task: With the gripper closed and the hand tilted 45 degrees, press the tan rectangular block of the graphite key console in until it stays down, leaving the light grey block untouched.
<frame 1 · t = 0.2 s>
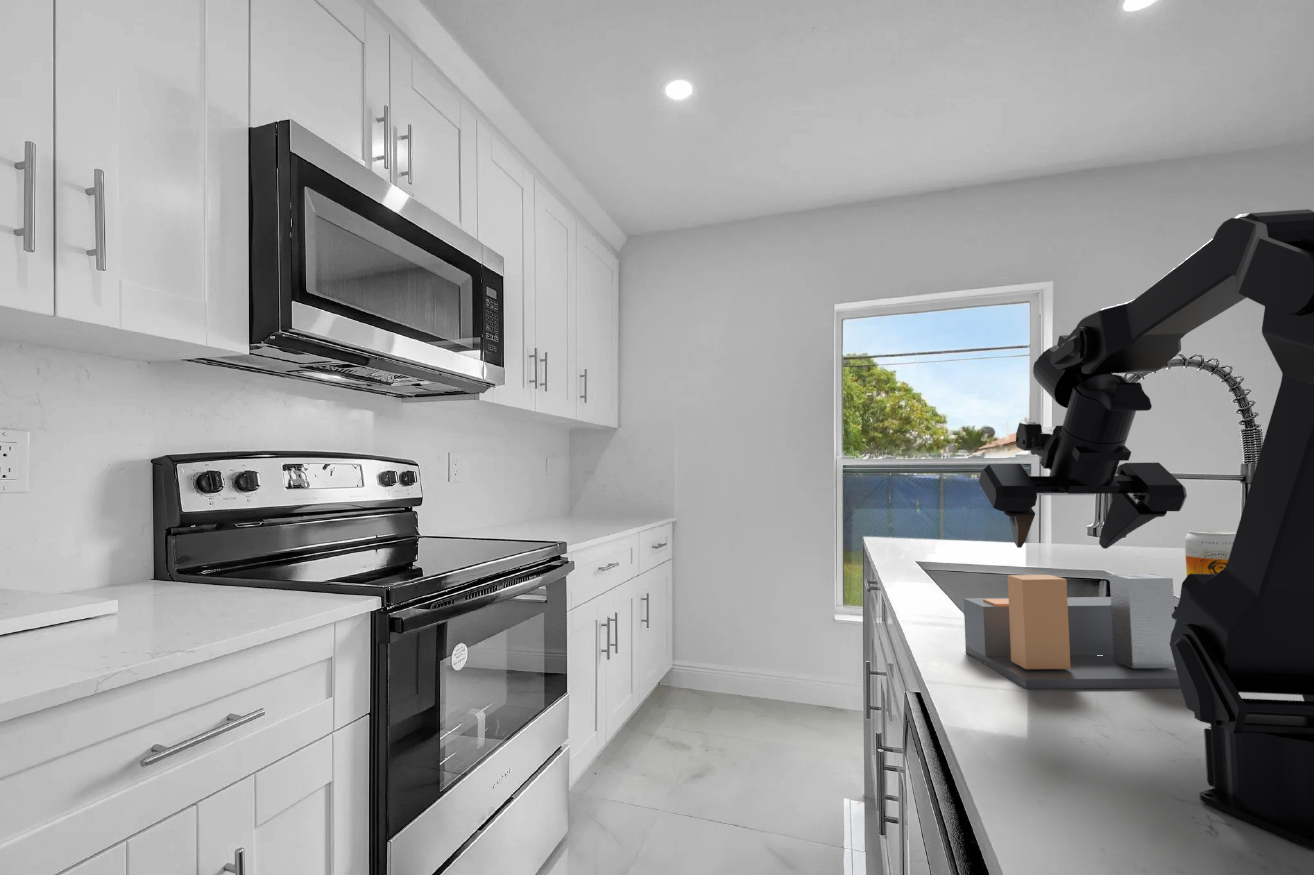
hand: (1059, 545, 73), 15 cm above the worktop, tool tilted 35°, fingers open, 9 cm apart
light grey block: (1142, 619, 72), point 6 cm above the worktop, slide at 0.0 cm
beer can: (1219, 645, 84), on the worktop
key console: (1093, 675, 72), on the worktop
tan rectangular block: (1038, 620, 72), point 6 cm above the worktop, slide at 0.0 cm
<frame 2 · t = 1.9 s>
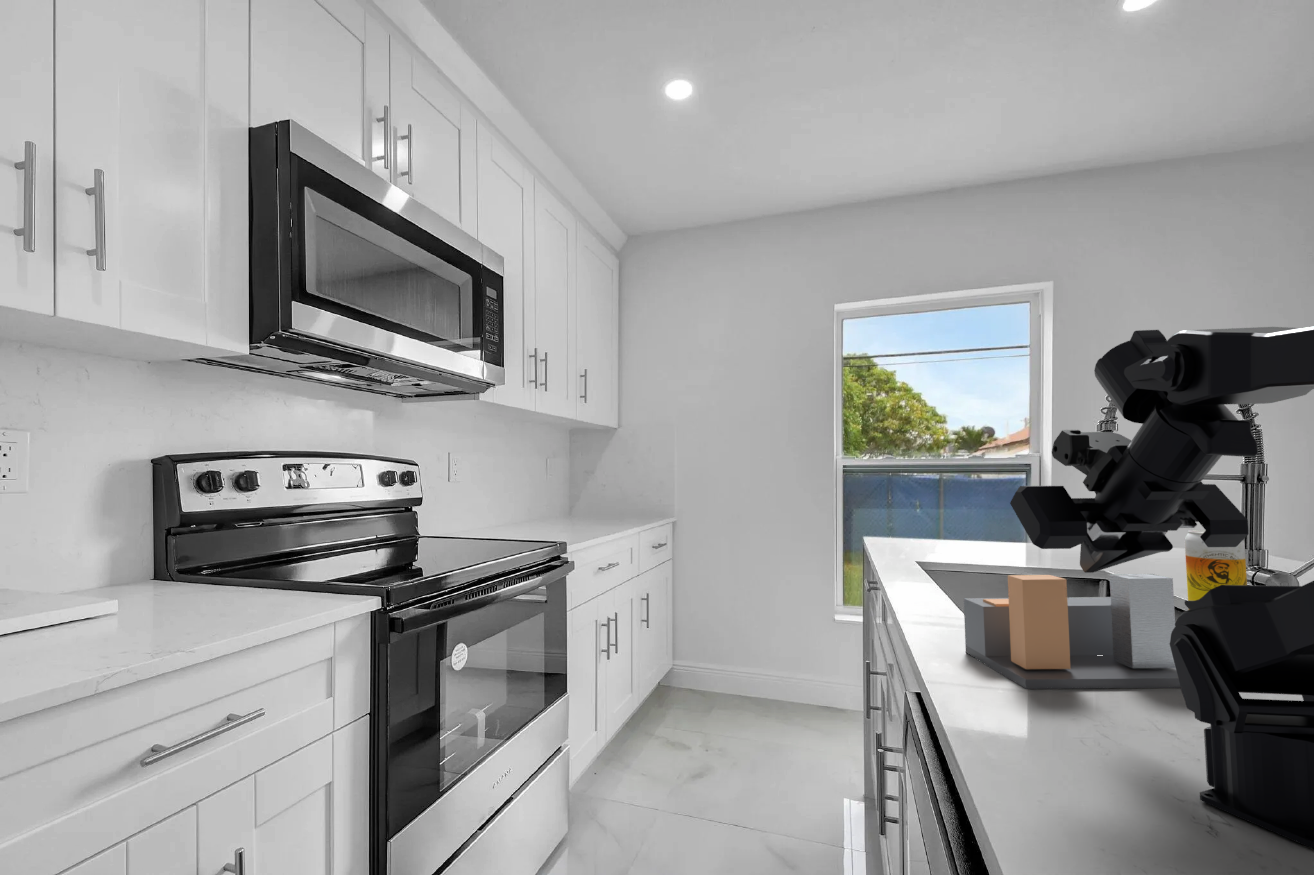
hand: (1085, 568, 64), 14 cm above the worktop, tool tilted 45°, fingers closed
nothing on the worktop moved.
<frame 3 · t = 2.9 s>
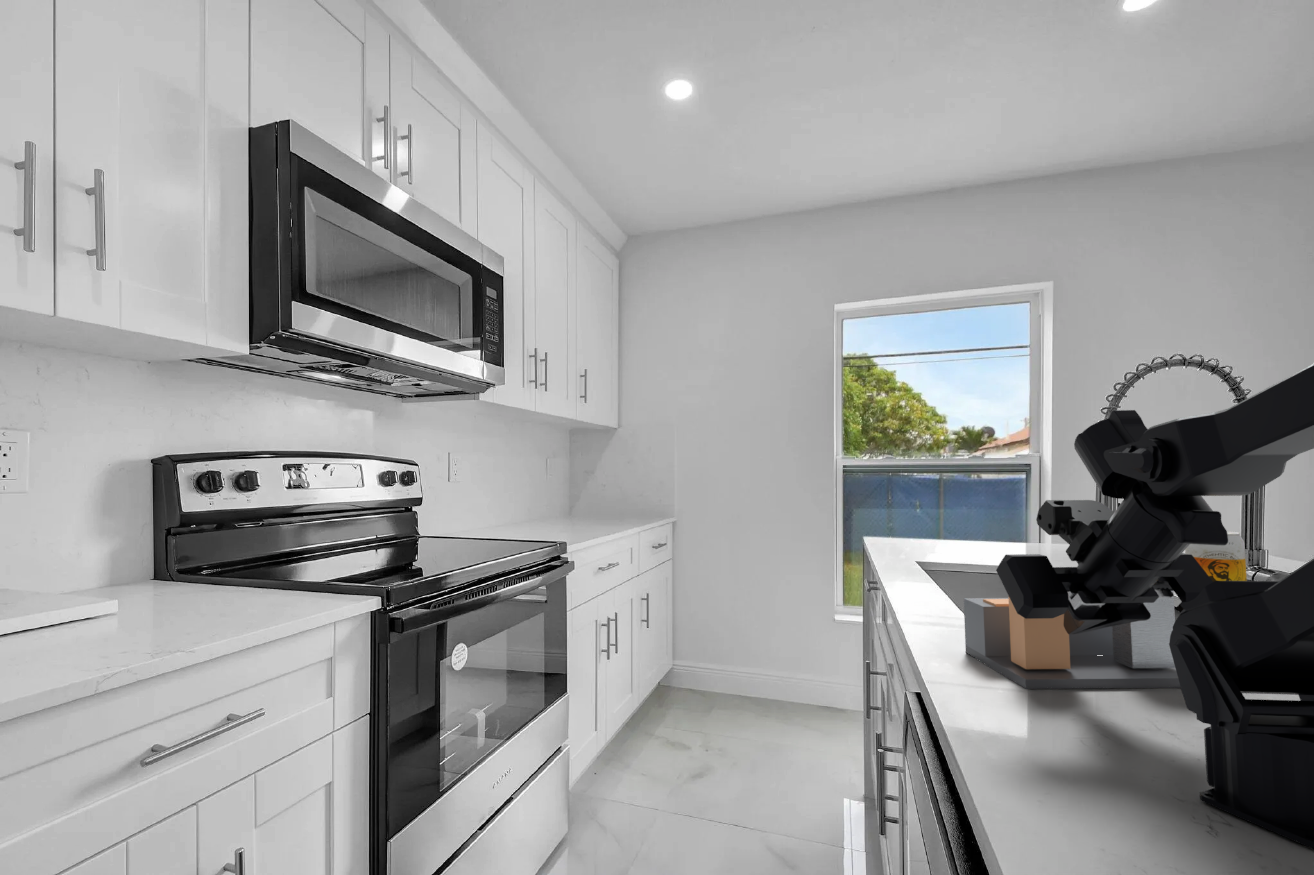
hand: (1069, 630, 67), 7 cm above the worktop, tool tilted 45°, fingers closed
nothing on the worktop moved.
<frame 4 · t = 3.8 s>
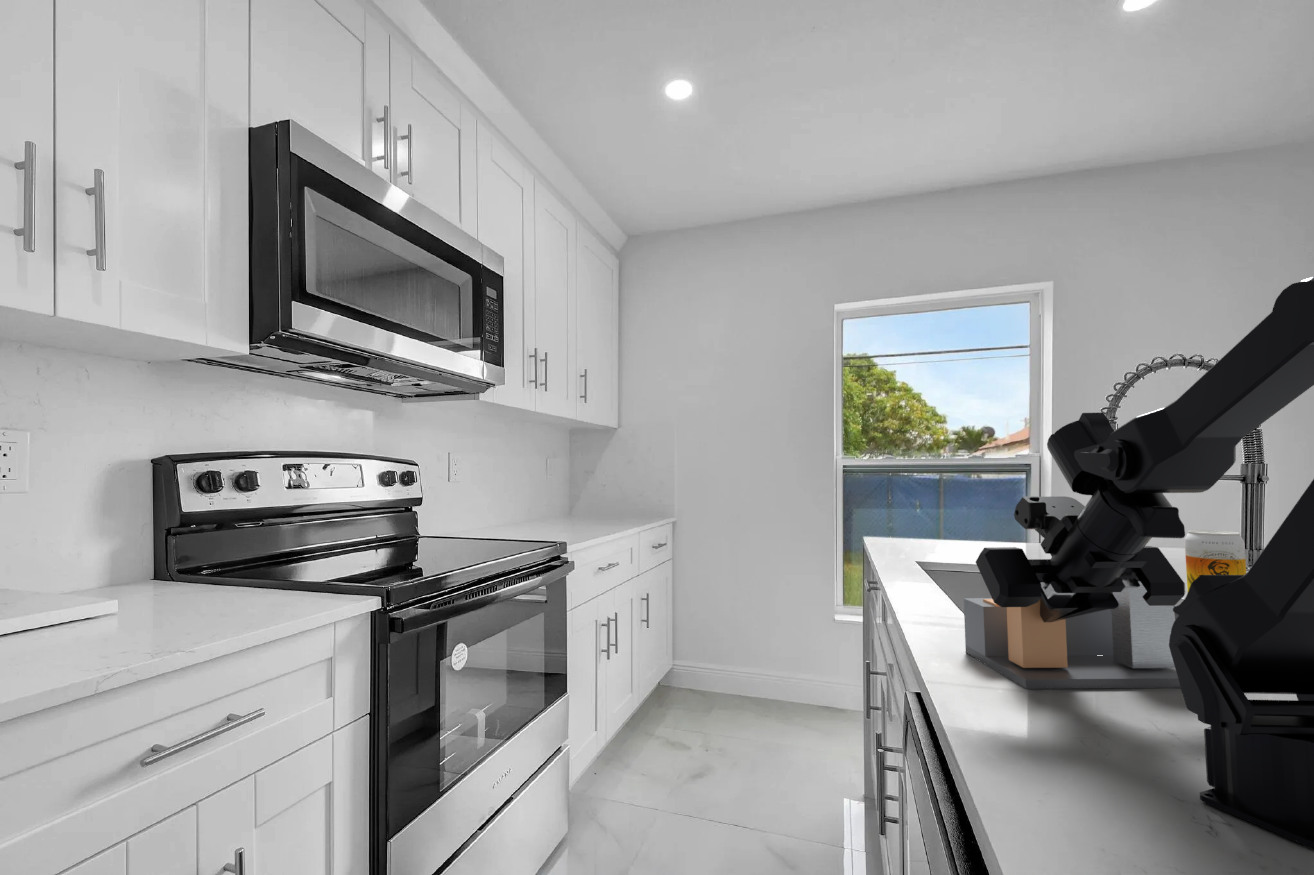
hand: (1044, 618, 71), 7 cm above the worktop, tool tilted 45°, fingers closed, pressing on tan rectangular block
tan rectangular block: (1035, 619, 73), point 6 cm above the worktop, slide at 0.5 cm, touching gripper
everything else where it was.
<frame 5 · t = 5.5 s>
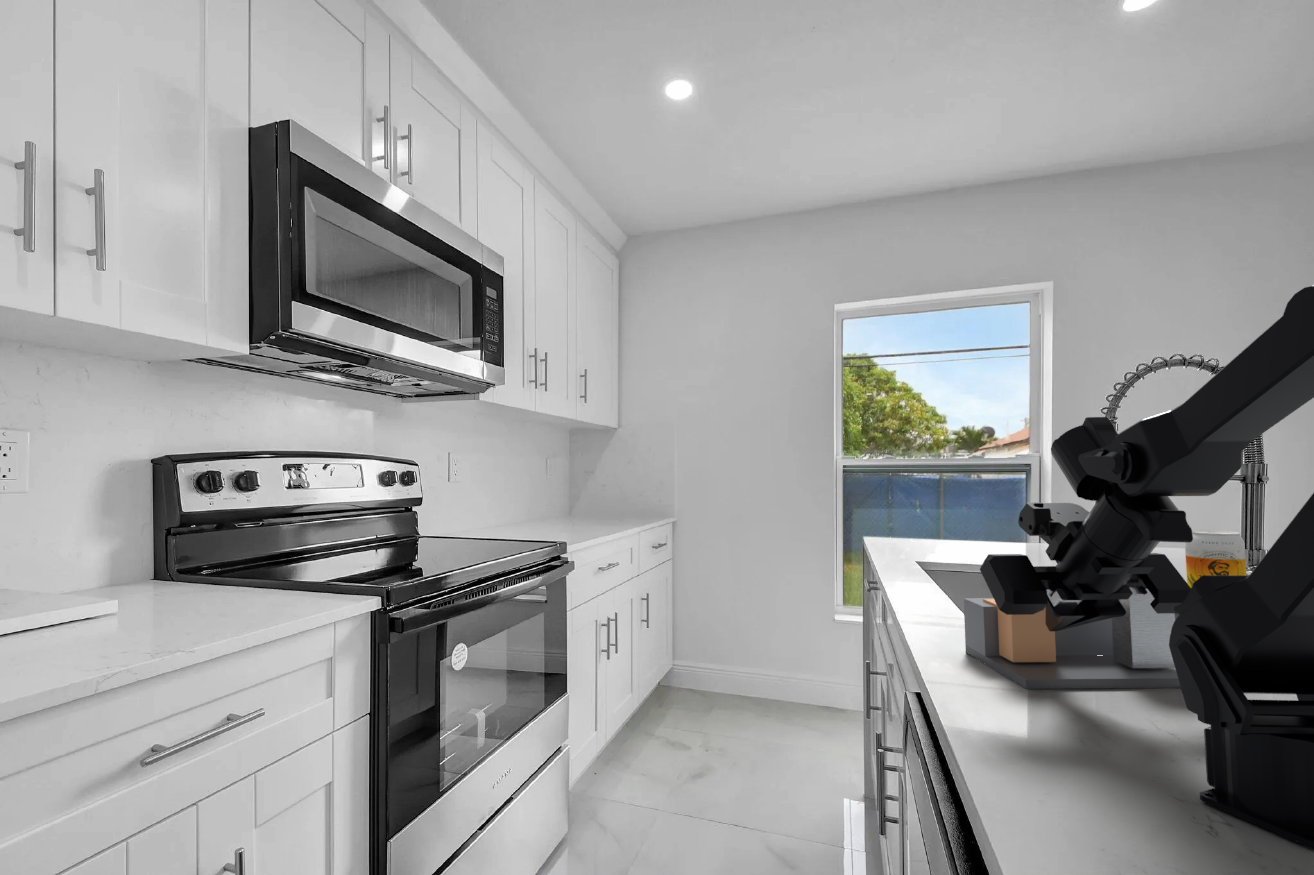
hand: (1050, 627, 70), 6 cm above the worktop, tool tilted 45°, fingers closed
tan rectangular block: (1025, 615, 75), point 6 cm above the worktop, slide at 2.6 cm
everything else where it was.
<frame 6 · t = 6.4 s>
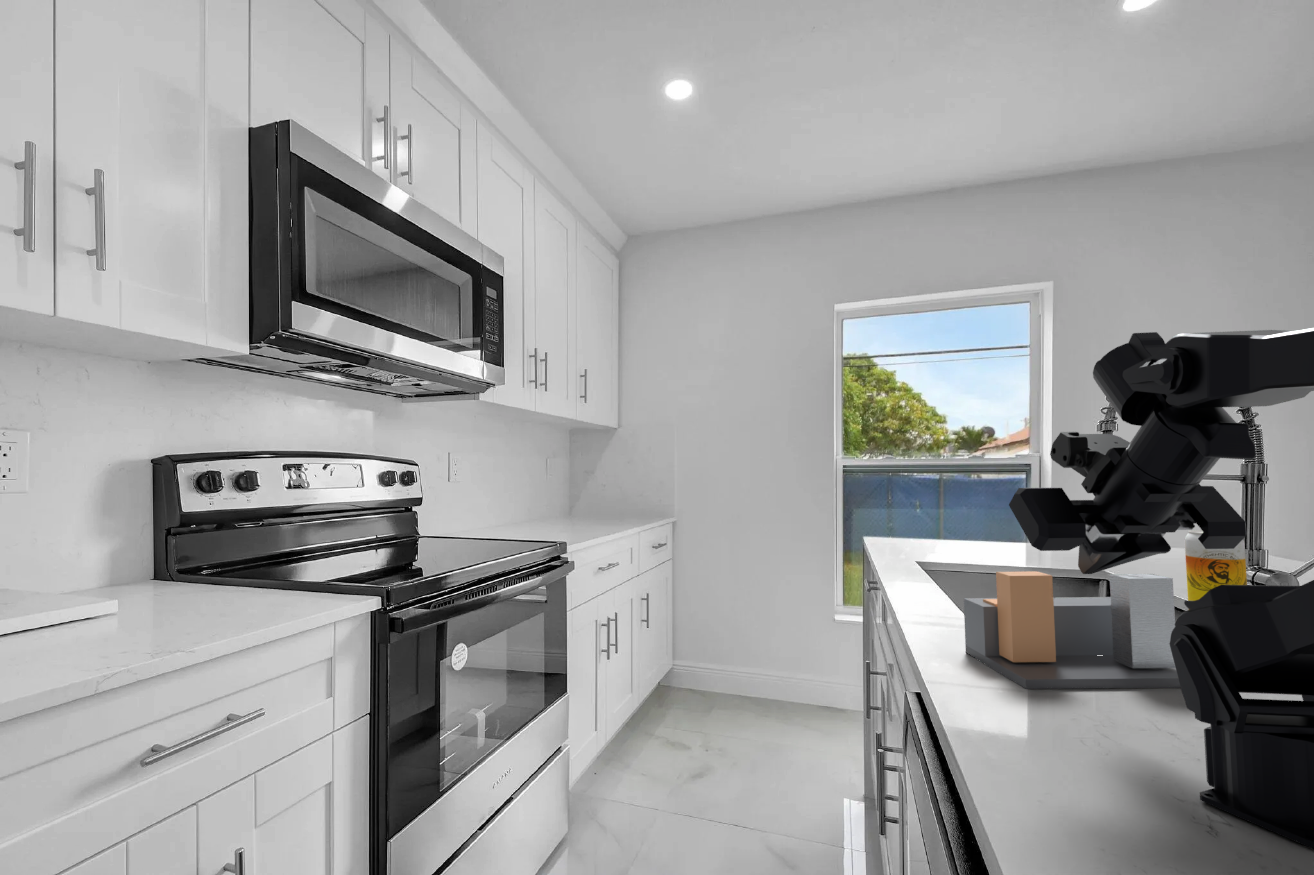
hand: (1084, 570, 64), 13 cm above the worktop, tool tilted 45°, fingers closed
nothing on the worktop moved.
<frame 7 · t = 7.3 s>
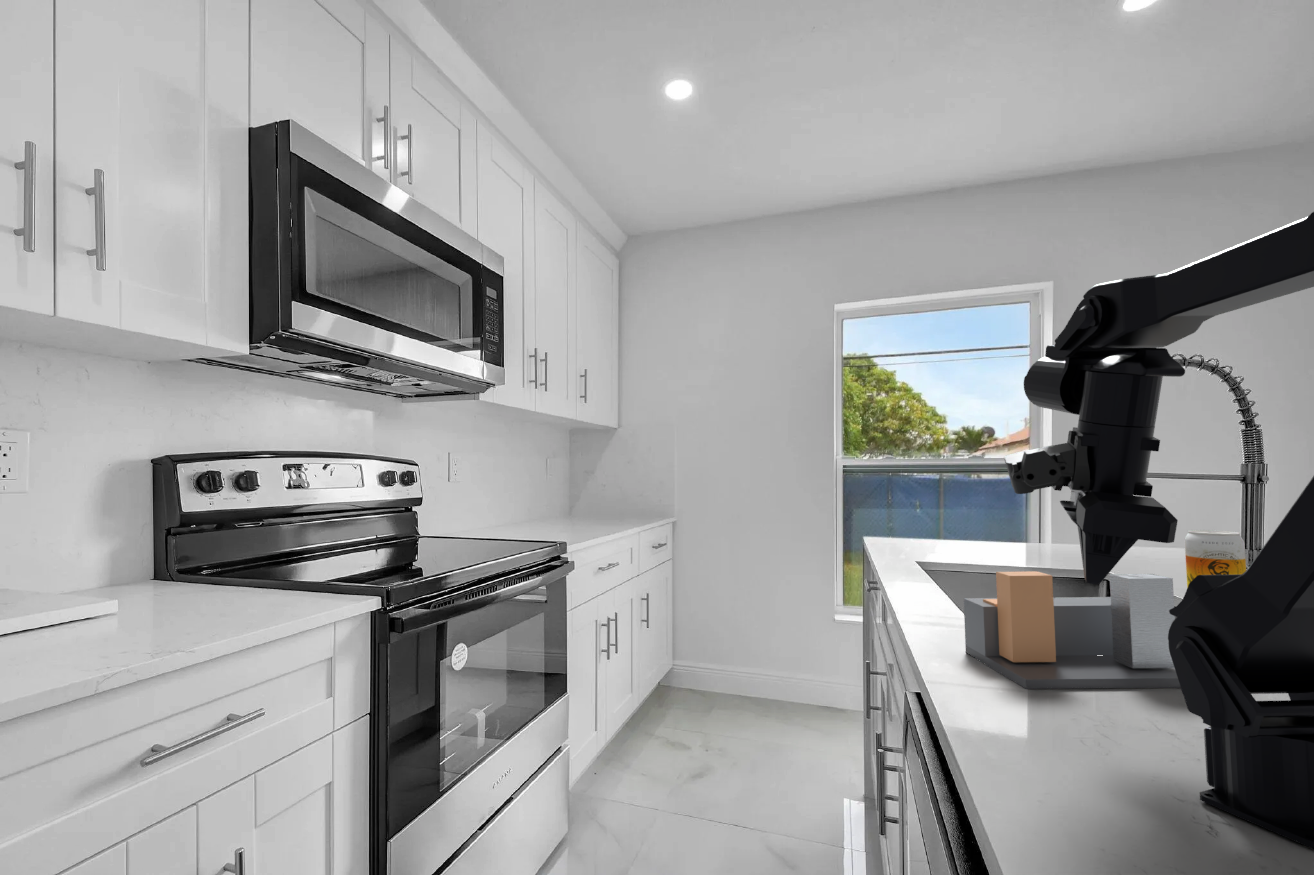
hand: (1091, 582, 60), 13 cm above the worktop, tool pointing down, fingers closed
nothing on the worktop moved.
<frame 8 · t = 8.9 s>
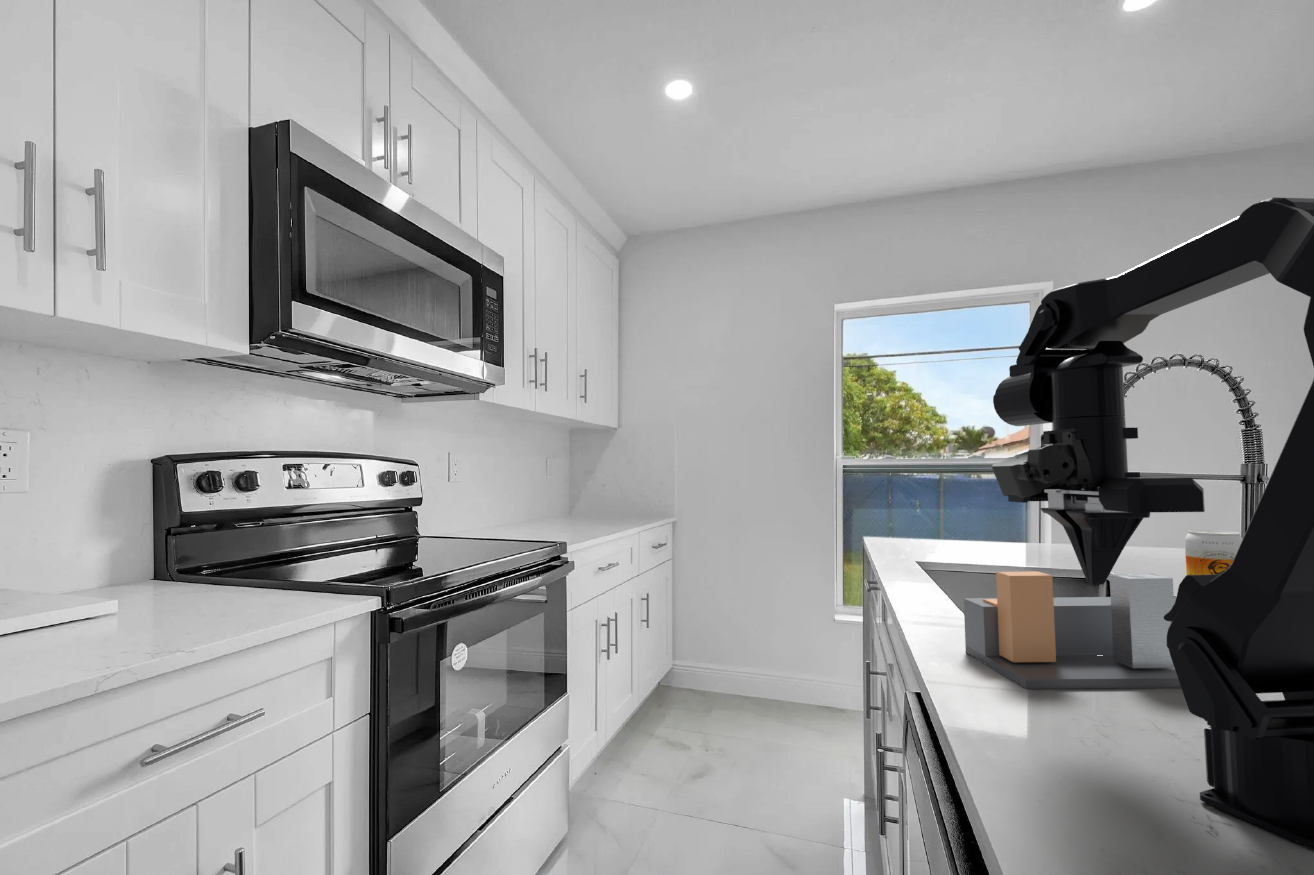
hand: (1095, 583, 59), 13 cm above the worktop, tool pointing down, fingers closed
nothing on the worktop moved.
at the end: tan rectangular block slide at 2.6 cm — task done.
